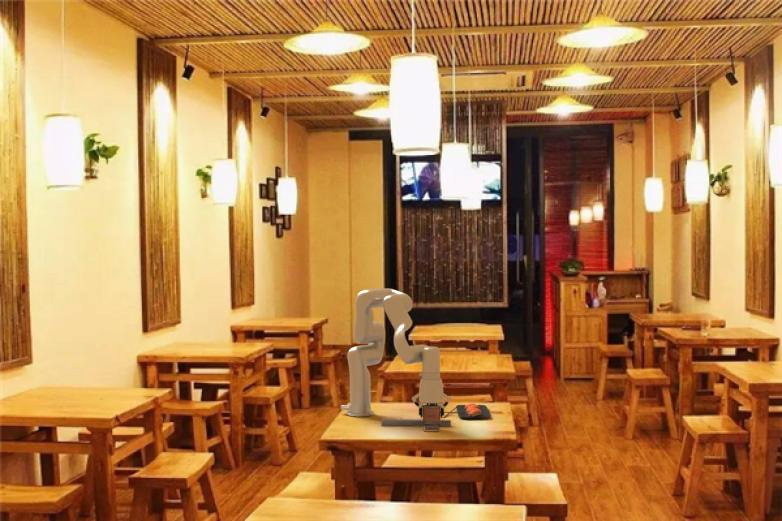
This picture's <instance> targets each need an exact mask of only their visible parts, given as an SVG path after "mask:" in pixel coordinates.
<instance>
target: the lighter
mask: <svg viewBox="0 0 782 521" xmlns="http://www.w3.org/2000/svg"><path fill="white" fill-rule="evenodd" d="M440 412H441V406H440V404H428V403H426V404H423V405H422V419H423V421H422V423H425V424H441V421H440V420H441V413H440Z"/></svg>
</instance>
